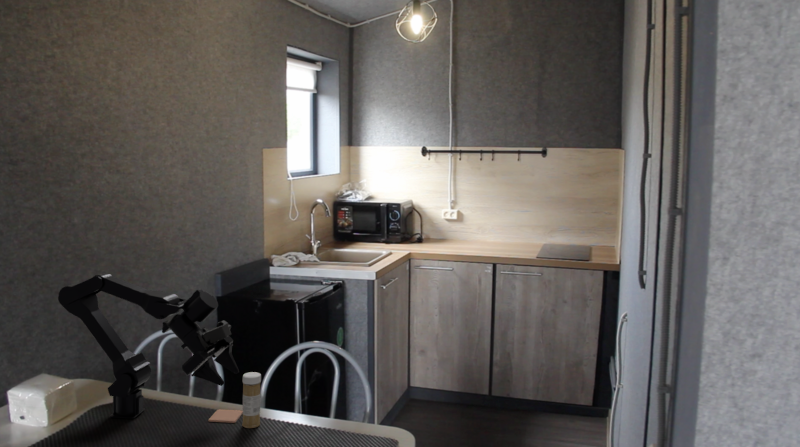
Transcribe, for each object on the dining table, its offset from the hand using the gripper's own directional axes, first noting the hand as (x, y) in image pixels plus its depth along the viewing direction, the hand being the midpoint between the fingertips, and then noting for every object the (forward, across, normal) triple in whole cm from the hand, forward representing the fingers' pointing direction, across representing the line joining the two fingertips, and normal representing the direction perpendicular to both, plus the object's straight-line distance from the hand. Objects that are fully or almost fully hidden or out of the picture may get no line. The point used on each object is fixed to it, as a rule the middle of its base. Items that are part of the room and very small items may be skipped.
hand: (230, 378), depth 152 cm
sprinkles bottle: (+12, 0, +5) cm, 13 cm away
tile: (+6, +4, +10) cm, 13 cm away
